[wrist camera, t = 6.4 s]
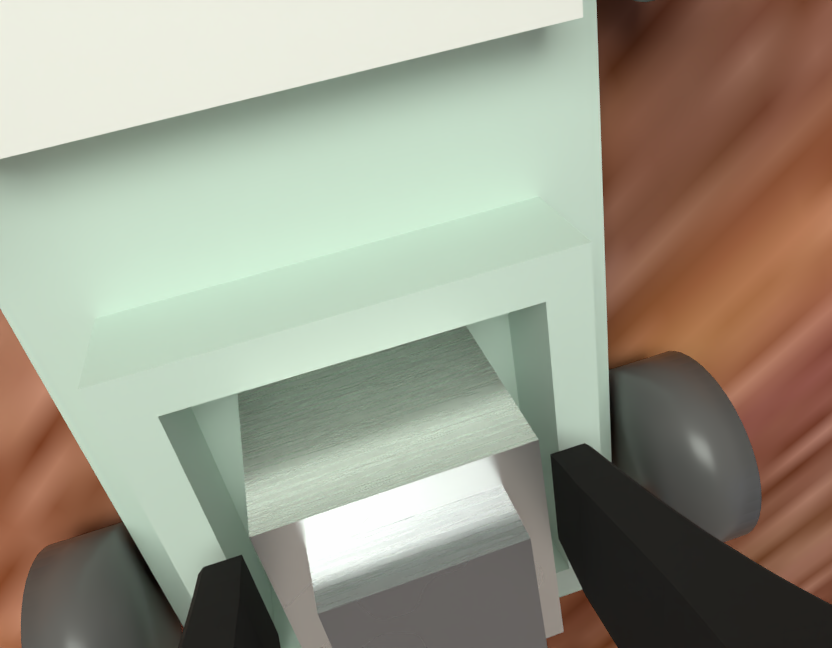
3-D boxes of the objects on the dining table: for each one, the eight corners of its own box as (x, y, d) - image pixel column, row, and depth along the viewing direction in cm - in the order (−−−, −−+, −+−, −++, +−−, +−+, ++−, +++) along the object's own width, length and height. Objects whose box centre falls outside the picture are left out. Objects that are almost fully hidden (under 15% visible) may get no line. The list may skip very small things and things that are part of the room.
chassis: (648, 465, 18) (750, 591, 15) (133, 637, 16) (117, 823, 13) (653, -400, 10) (898, -565, 6) (-422, -223, 8) (-874, -315, 5)
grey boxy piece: (484, 474, 15) (590, 686, 11) (304, 534, 15) (345, 780, 11) (450, 301, 13) (571, 490, 9) (235, 368, 13) (254, 600, 8)
